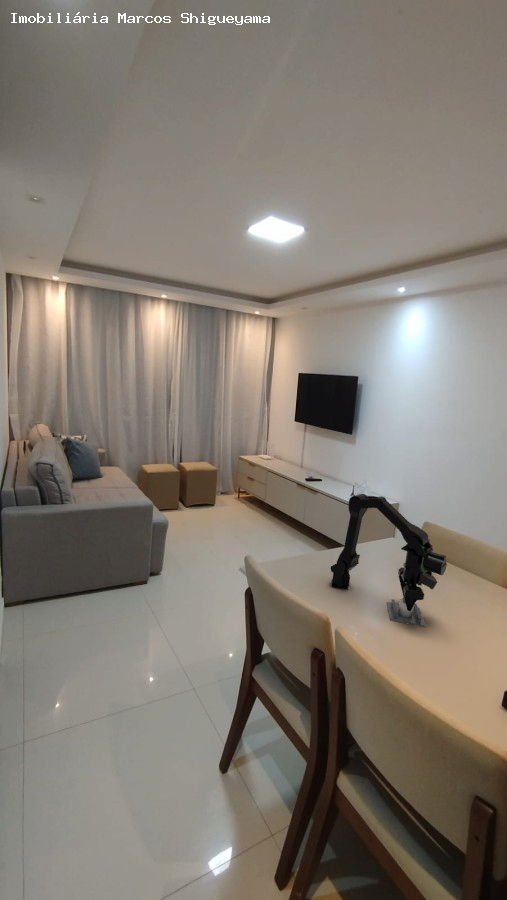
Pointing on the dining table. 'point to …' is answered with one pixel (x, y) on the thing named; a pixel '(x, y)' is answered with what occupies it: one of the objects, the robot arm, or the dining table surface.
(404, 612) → the grey capped cylinder
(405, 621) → the cradle
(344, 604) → the dining table surface
